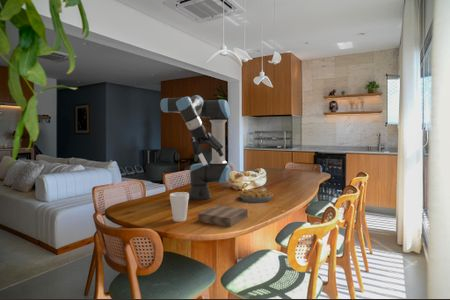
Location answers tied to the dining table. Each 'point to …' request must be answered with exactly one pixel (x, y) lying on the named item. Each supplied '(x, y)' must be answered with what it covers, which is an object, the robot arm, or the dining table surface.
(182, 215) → the foam cup
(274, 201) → the dining table surface
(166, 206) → the dining table surface
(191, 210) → the dining table surface
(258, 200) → the pie
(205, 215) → the walnut riser
